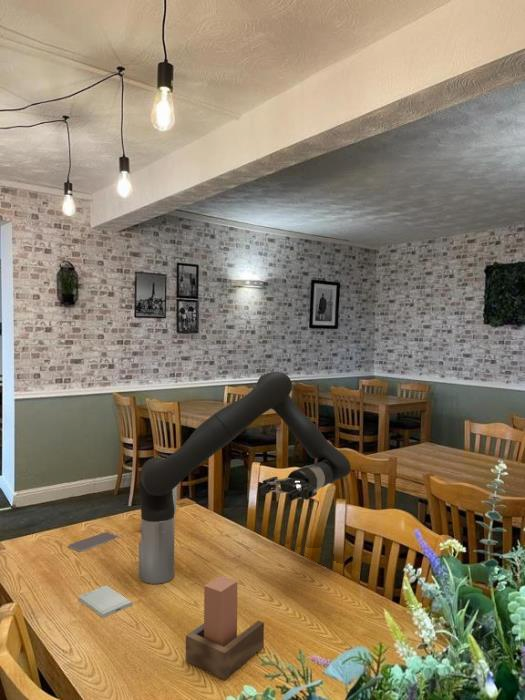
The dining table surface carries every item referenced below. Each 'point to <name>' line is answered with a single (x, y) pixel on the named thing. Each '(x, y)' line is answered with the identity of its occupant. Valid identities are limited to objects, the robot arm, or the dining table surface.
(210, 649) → the book slot
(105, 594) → the hard drive
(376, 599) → the dining table surface
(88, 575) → the dining table surface
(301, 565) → the dining table surface
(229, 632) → the reddish pink rectangular block
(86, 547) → the smartphone
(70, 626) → the dining table surface
